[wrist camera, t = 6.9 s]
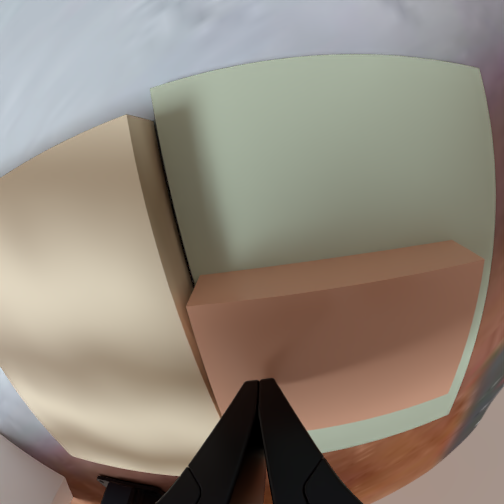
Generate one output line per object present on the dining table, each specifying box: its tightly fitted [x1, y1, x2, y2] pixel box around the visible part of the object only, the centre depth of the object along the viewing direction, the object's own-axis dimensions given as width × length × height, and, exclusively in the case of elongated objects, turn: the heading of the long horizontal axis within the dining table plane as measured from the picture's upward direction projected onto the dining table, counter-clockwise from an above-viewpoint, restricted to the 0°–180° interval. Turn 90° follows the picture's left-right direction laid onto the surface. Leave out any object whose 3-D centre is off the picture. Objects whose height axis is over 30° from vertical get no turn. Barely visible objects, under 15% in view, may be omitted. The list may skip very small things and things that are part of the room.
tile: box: [186, 240, 485, 431], centre depth 9 cm, size 6×9×2 cm, turn 98°
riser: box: [0, 114, 222, 476], centre depth 10 cm, size 16×12×2 cm
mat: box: [150, 54, 496, 453], centre depth 10 cm, size 18×12×1 cm, turn 11°
